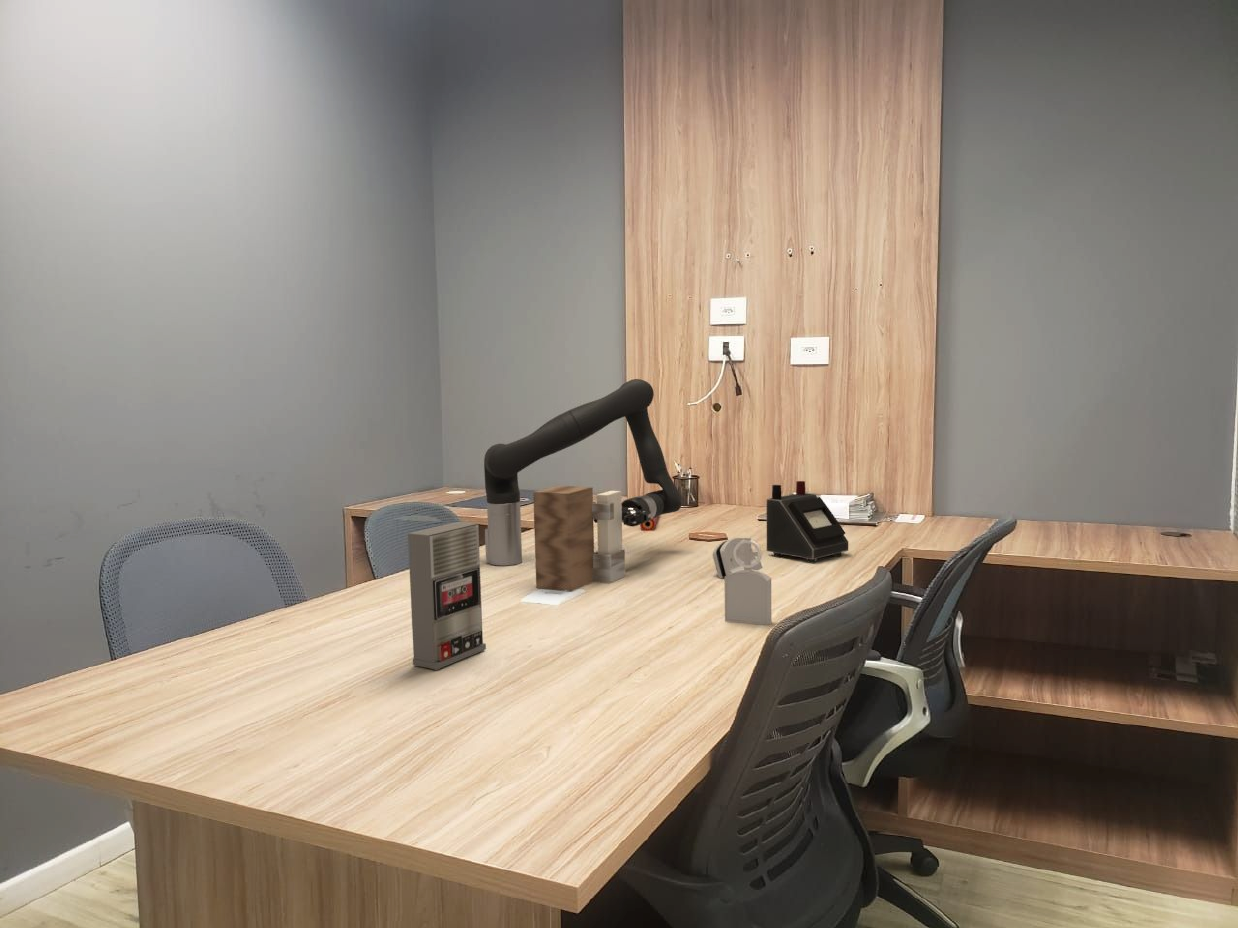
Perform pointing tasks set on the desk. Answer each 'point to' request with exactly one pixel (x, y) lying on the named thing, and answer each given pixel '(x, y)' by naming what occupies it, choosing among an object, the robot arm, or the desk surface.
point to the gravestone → (748, 589)
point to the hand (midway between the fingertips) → (610, 519)
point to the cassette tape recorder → (445, 594)
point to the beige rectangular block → (610, 525)
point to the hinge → (730, 557)
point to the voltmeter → (802, 526)
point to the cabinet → (571, 539)
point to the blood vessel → (649, 524)
